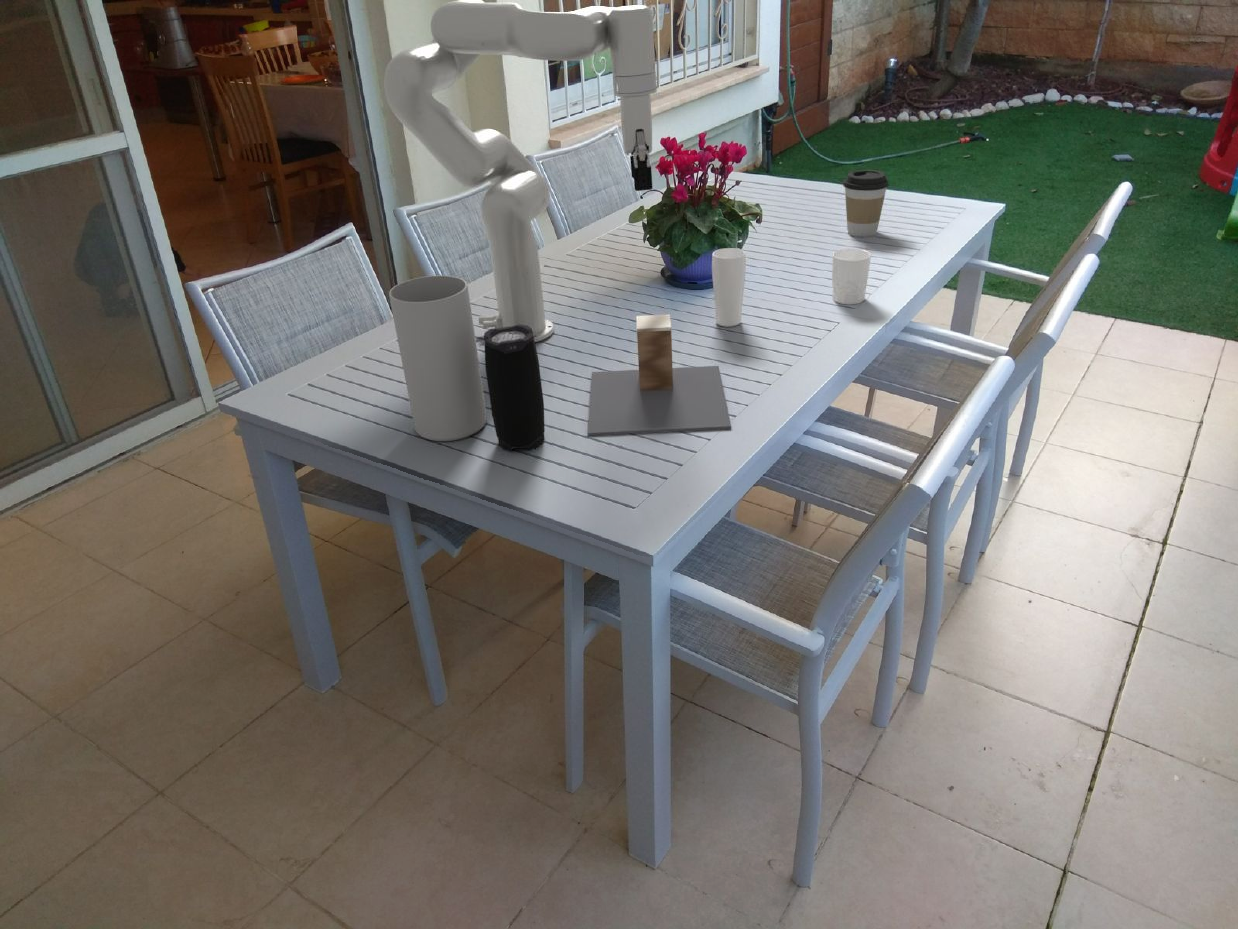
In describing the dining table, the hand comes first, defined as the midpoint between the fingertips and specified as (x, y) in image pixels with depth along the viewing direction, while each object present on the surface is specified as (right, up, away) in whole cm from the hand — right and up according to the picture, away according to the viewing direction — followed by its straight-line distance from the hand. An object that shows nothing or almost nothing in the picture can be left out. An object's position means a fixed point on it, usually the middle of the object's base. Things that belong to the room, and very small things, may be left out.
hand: (641, 183), depth 171 cm
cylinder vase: (-33, -45, -9) cm, 57 cm away
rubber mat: (+3, -40, -5) cm, 41 cm away
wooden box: (+3, -37, 0) cm, 37 cm away
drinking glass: (+19, -22, +23) cm, 37 cm away
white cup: (+46, -16, +31) cm, 58 cm away
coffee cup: (+59, +8, +70) cm, 92 cm away
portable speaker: (-20, -48, -16) cm, 55 cm away
